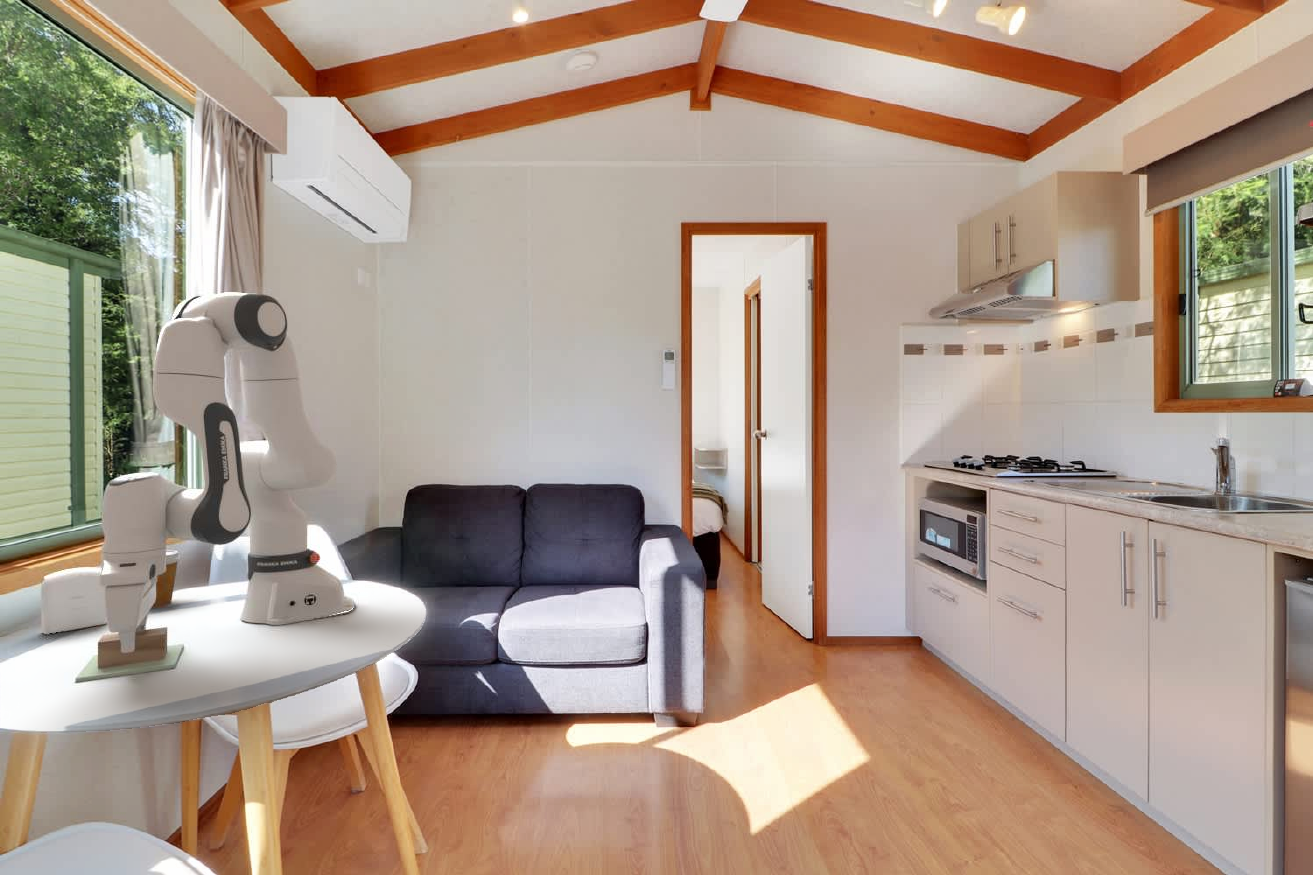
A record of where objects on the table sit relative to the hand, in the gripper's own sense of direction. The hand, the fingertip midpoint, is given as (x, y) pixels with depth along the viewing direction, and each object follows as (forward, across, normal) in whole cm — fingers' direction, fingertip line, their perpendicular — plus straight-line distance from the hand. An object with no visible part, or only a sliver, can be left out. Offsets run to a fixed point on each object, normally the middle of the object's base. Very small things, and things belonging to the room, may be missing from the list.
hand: (134, 642), depth 112 cm
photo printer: (+4, -30, -14) cm, 33 cm away
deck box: (+3, 0, 0) cm, 3 cm away
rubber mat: (+4, 0, 0) cm, 4 cm away
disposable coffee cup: (+4, -44, -3) cm, 44 cm away
